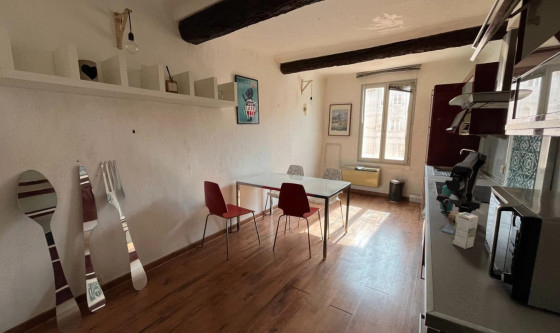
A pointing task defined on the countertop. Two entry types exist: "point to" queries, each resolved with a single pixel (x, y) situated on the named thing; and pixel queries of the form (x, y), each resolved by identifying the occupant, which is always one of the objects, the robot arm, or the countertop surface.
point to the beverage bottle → (448, 192)
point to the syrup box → (465, 230)
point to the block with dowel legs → (452, 216)
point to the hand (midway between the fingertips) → (456, 216)
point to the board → (448, 228)
